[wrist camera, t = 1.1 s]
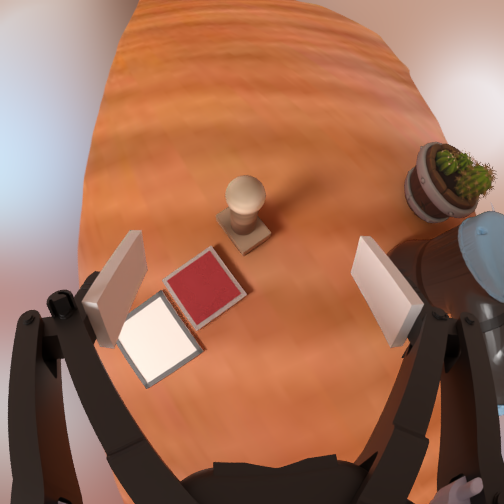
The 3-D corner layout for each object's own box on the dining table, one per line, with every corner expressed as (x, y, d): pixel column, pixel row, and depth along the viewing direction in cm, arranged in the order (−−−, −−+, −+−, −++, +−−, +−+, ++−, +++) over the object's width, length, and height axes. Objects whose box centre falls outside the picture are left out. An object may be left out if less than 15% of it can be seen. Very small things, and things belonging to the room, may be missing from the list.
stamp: (269, 238, 43) (284, 197, 29) (243, 257, 42) (246, 223, 28) (242, 204, 45) (245, 153, 31) (216, 221, 44) (208, 175, 30)
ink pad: (246, 295, 41) (247, 294, 40) (197, 330, 39) (195, 331, 38) (211, 247, 43) (210, 244, 41) (163, 281, 41) (161, 279, 39)
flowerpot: (384, 165, 49) (436, 102, 29) (436, 170, 50) (489, 121, 31) (403, 235, 45) (476, 188, 26) (456, 231, 46) (522, 194, 27)
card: (203, 351, 39) (203, 351, 38) (147, 388, 36) (146, 389, 36) (162, 290, 40) (161, 290, 40) (108, 328, 38) (107, 328, 38)
